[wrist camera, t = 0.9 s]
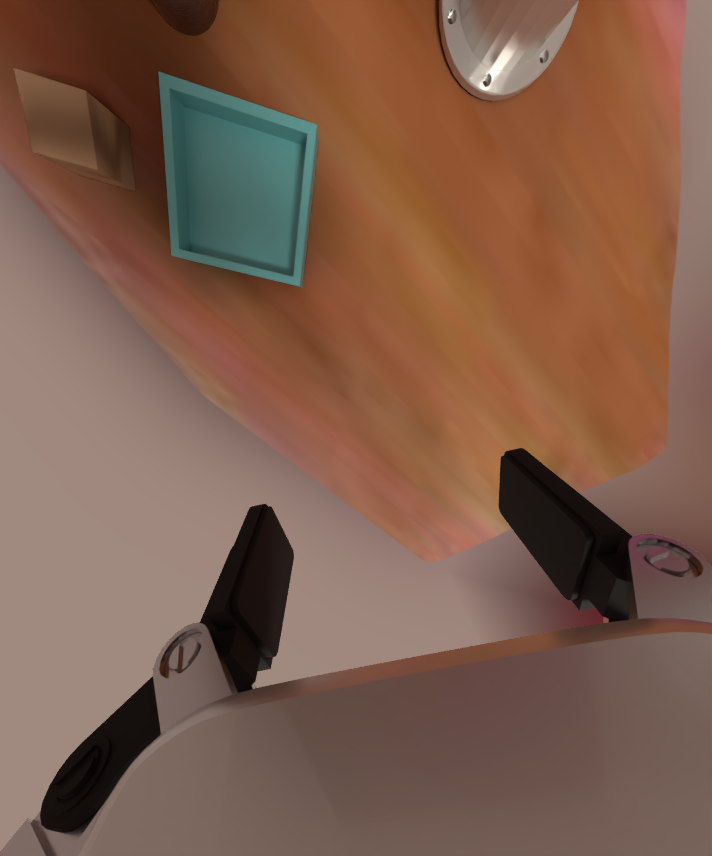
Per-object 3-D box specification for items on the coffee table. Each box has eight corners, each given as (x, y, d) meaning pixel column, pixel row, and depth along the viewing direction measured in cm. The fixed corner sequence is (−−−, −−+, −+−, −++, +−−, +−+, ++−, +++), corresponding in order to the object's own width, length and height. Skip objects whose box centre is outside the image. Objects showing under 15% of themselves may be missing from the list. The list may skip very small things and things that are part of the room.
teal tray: (177, 96, 25) (158, 71, 22) (318, 142, 27) (317, 124, 24) (186, 259, 31) (171, 255, 28) (302, 287, 33) (299, 286, 30)
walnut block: (71, 110, 25) (13, 67, 20) (129, 127, 26) (85, 90, 21) (83, 177, 27) (32, 152, 22) (136, 191, 28) (97, 169, 23)
